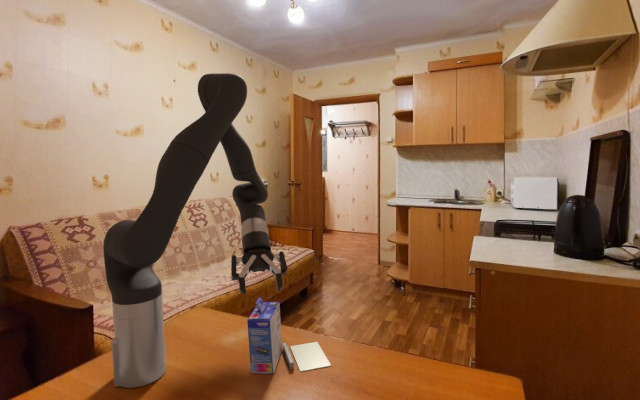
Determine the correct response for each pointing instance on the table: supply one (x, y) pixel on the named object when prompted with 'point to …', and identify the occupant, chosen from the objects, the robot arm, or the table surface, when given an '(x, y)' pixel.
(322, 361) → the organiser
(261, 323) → the ink cartridge box
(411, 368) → the table surface
